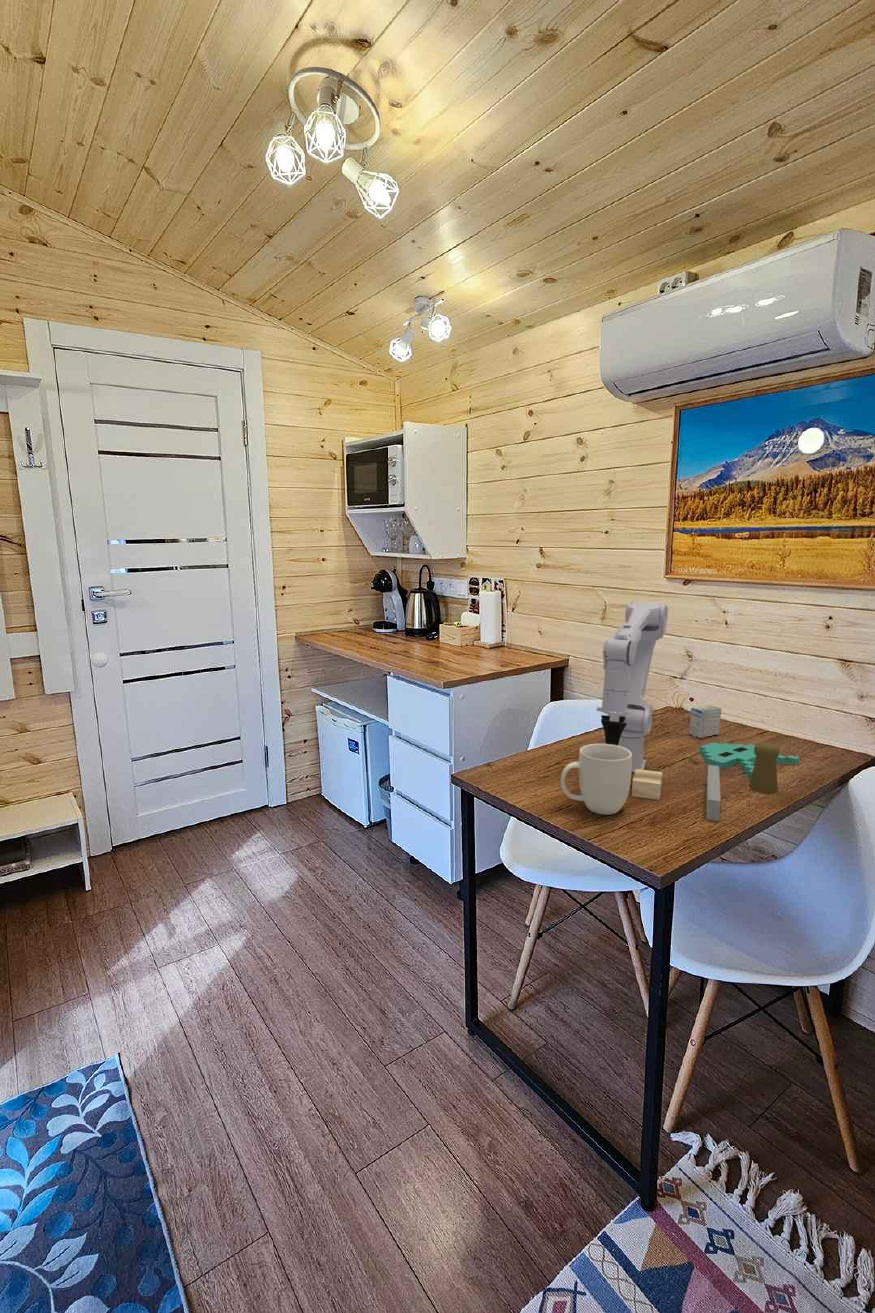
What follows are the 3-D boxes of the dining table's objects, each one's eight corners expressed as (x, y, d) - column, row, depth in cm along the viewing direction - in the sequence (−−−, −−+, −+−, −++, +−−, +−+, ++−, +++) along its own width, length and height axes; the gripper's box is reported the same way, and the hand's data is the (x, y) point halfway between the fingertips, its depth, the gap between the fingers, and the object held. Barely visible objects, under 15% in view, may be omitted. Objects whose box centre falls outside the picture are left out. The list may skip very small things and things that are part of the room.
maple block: (635, 784, 149) (636, 768, 149) (661, 788, 147) (662, 772, 146) (631, 797, 142) (632, 780, 141) (659, 801, 140) (660, 784, 139)
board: (706, 782, 149) (708, 764, 149) (717, 784, 149) (719, 766, 148) (706, 819, 130) (707, 799, 129) (719, 821, 129) (720, 801, 128)
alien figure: (798, 765, 162) (727, 745, 178) (799, 757, 161) (727, 738, 178) (756, 782, 151) (684, 759, 167) (756, 773, 150) (684, 751, 167)
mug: (565, 819, 130) (566, 760, 128) (555, 798, 141) (557, 743, 139) (636, 819, 130) (639, 760, 128) (621, 798, 141) (623, 743, 139)
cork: (744, 783, 149) (748, 739, 147) (771, 784, 148) (775, 739, 146) (754, 793, 143) (758, 747, 141) (782, 794, 142) (786, 748, 140)
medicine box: (707, 731, 190) (709, 704, 188) (719, 735, 186) (721, 707, 184) (688, 735, 186) (690, 707, 185) (700, 739, 182) (702, 711, 181)
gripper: (598, 686, 153) (593, 741, 153) (598, 691, 139) (592, 751, 139) (628, 689, 151) (623, 744, 151) (630, 694, 137) (625, 755, 137)
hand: (611, 748), depth 145 cm, fingers open, 7 cm apart
